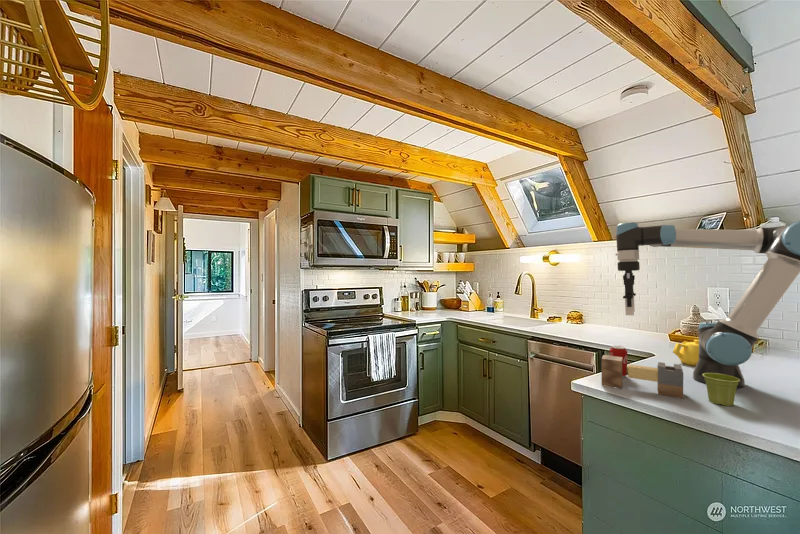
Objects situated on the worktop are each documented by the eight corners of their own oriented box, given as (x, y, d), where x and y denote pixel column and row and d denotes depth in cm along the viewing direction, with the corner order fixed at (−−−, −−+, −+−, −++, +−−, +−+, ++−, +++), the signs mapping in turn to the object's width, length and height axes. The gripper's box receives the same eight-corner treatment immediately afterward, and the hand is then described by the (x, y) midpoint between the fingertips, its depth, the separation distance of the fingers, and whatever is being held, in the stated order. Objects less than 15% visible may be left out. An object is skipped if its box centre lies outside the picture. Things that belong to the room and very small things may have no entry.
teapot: (706, 358, 176) (706, 336, 176) (733, 369, 158) (733, 344, 158) (660, 356, 179) (660, 334, 179) (682, 366, 161) (683, 342, 161)
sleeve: (681, 392, 129) (681, 364, 128) (683, 398, 123) (683, 369, 123) (657, 388, 132) (657, 361, 132) (658, 394, 127) (658, 366, 127)
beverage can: (630, 378, 144) (630, 349, 144) (612, 377, 146) (612, 348, 146) (623, 374, 151) (623, 345, 151) (607, 373, 152) (607, 345, 152)
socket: (622, 383, 139) (622, 357, 139) (621, 388, 133) (621, 361, 133) (603, 380, 142) (603, 354, 142) (601, 385, 136) (601, 358, 136)
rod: (680, 382, 128) (680, 370, 128) (681, 385, 124) (681, 373, 124) (626, 374, 137) (626, 364, 137) (626, 377, 133) (626, 366, 133)
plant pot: (694, 398, 123) (694, 372, 123) (720, 397, 124) (720, 372, 124) (721, 408, 114) (721, 381, 114) (748, 407, 115) (748, 380, 115)
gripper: (619, 261, 158) (621, 309, 158) (615, 261, 137) (617, 316, 137) (639, 260, 154) (641, 310, 153) (639, 260, 133) (641, 317, 133)
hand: (630, 313), depth 145 cm, fingers open, 13 cm apart
